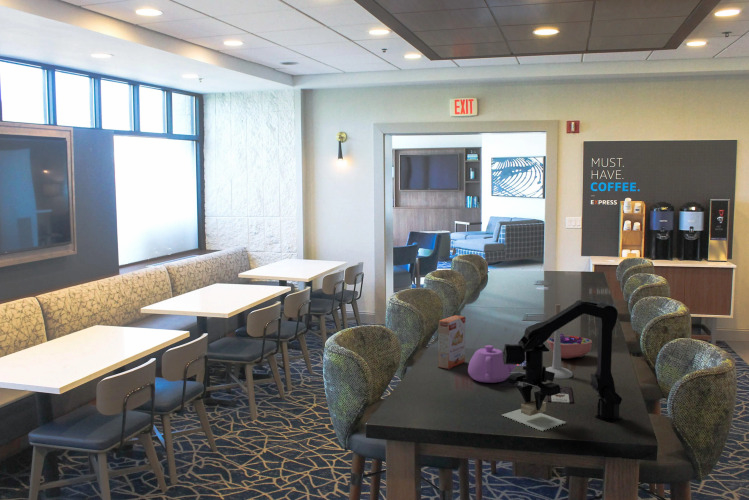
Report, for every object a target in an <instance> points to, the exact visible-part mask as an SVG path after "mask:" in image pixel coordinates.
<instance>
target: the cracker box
mask: <svg viewBox="0 0 749 500" xmlns="http://www.w3.org/2000/svg"><path fill="white" fill-rule="evenodd" d="M437 337H438V341H437V342H438V344H437V346H438V347H437V349H438V351H437V352H438V353H437V357H438V358H437V359H438V360H437V366H438V368H442V369H447V370H450V369H452V368H454V367H457V366H459V365H461V364H464V363H465V362H466V361H465V359H466V358H465V357H466V356H465V355H466V354H465V353H466V350H465V349H466V316H463V315H456V314H455V315H452V316H449V317H446V318H442V319H440V320H438V335H437Z"/></svg>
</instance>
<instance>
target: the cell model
mask: <svg viewBox="0 0 749 500" xmlns="http://www.w3.org/2000/svg"><path fill="white" fill-rule="evenodd" d="M554 337H555V336H550V337H549V339H548V340H546V342H547V343H548V346H549V348H550V350H551V351H552V352H553V351H554ZM592 343H593V341H592V339H589V338H586V337H581V336H578V335H576V336H575V335H567V334H566V335H565V334H564V333H563V332H562V333H561V332H560V346H561V359H564V360H565V359H566V360H568V359H574V358H575V359H576V358H581V357H584V356H585V355H587V354H588V353H589V352H590V351H591V349H592Z"/></svg>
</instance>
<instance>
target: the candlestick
mask: <svg viewBox="0 0 749 500" xmlns="http://www.w3.org/2000/svg"><path fill="white" fill-rule="evenodd" d="M554 307H555V309H554V310H555V311H554V316H555V315H556V314H558V313H560V312H561V304H560V303H556V304H554ZM560 334H561V328H559V329H558V330H556V331H555V332H554V336H553V337H554V351H552V366H548V367H545V368H546V371H549V372H553V373H555V376H554V379H556V380H557V379H558V380H561V379H563V380H564V379H570V378H572V377H573V372H572V371H571V370H569V368H565V367H562V358H561V346H560Z"/></svg>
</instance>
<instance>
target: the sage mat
mask: <svg viewBox="0 0 749 500" xmlns="http://www.w3.org/2000/svg"><path fill="white" fill-rule="evenodd" d="M503 416H504V417H503ZM501 417H503V418H505V417H507V418H506V419H508V418H509V419H508V420H510V419H512V420H511V421H513V420H514V421H513V422H516V421H517V422H516V423H518V422H519V424H521V423H523V424H525V425H524V426H526V425H527V426H526V427H529V426H530V427H529V428H531V427H532V429H534V428H535V429H534V430H536V429H537V430H536V431H539V430H540V431H539V432H541V431H542V432H545V431H548V430H551V429H554V428H557V427H560V426H562V424H563V425H566V424H567V422H566V421H564V420H562V419H559V418H555V417H553V416H550V415H548V414H546V413H545V414H544V413H543V412H541V413H538V414H535V415H532V416H529V415H526V414H523V413H521V408H519V409H515V410H513V411H509V412H505V413H503V414H501ZM523 424H522V425H523ZM559 425H560V426H559ZM556 426H557V427H556ZM553 427H554V428H553ZM550 428H551V429H550ZM547 429H548V430H547ZM544 430H545V431H544Z"/></svg>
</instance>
